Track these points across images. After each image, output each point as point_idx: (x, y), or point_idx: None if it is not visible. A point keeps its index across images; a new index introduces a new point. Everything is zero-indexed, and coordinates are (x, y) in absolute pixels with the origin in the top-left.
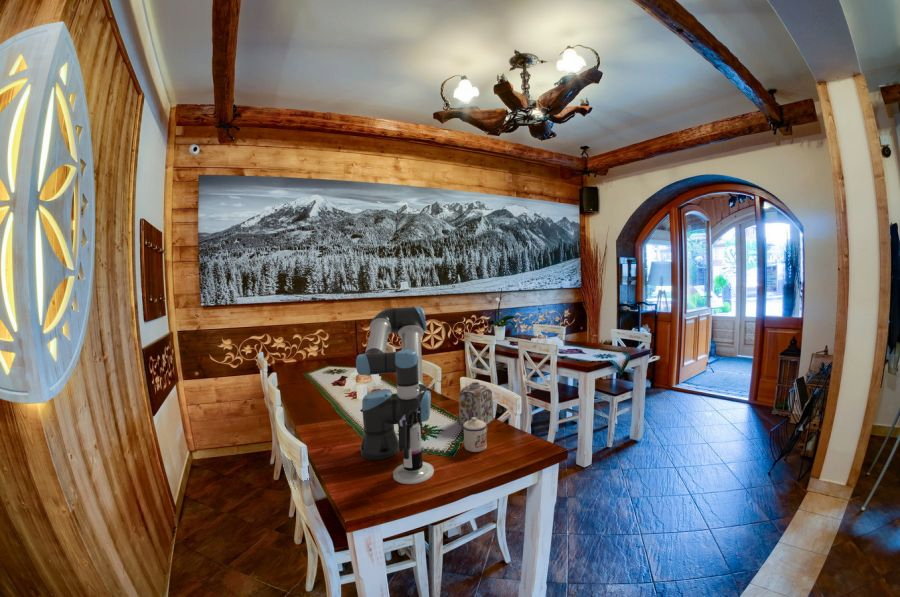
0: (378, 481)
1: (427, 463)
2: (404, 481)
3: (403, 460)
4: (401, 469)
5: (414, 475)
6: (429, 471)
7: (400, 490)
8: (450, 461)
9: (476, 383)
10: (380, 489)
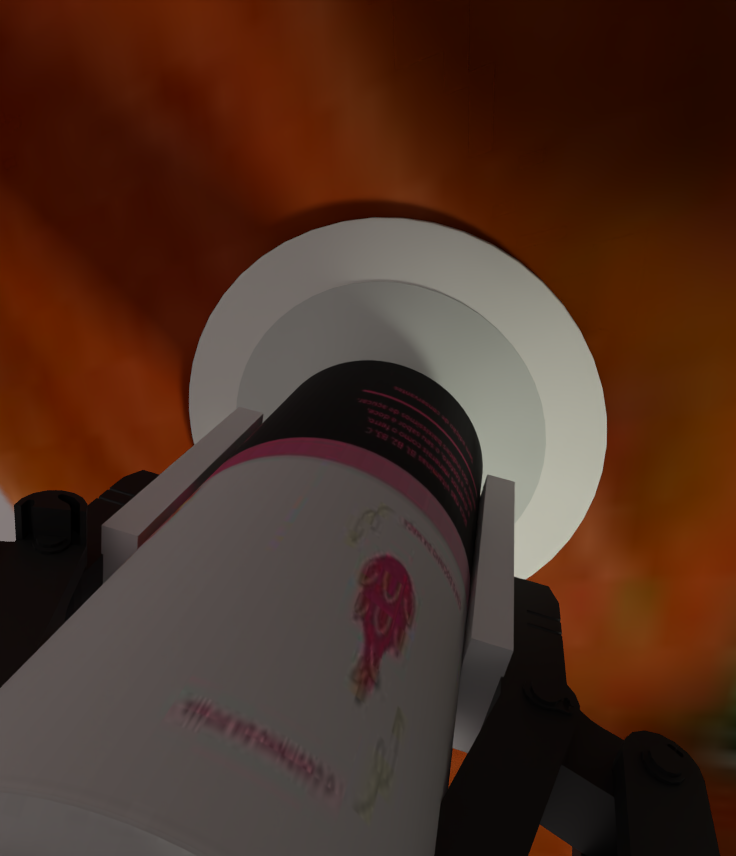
0: (196, 88)
1: (544, 554)
2: (199, 387)
3: (284, 406)
4: (411, 306)
5: None
6: None
7: (103, 369)
8: (603, 725)
9: None
10: (74, 172)
